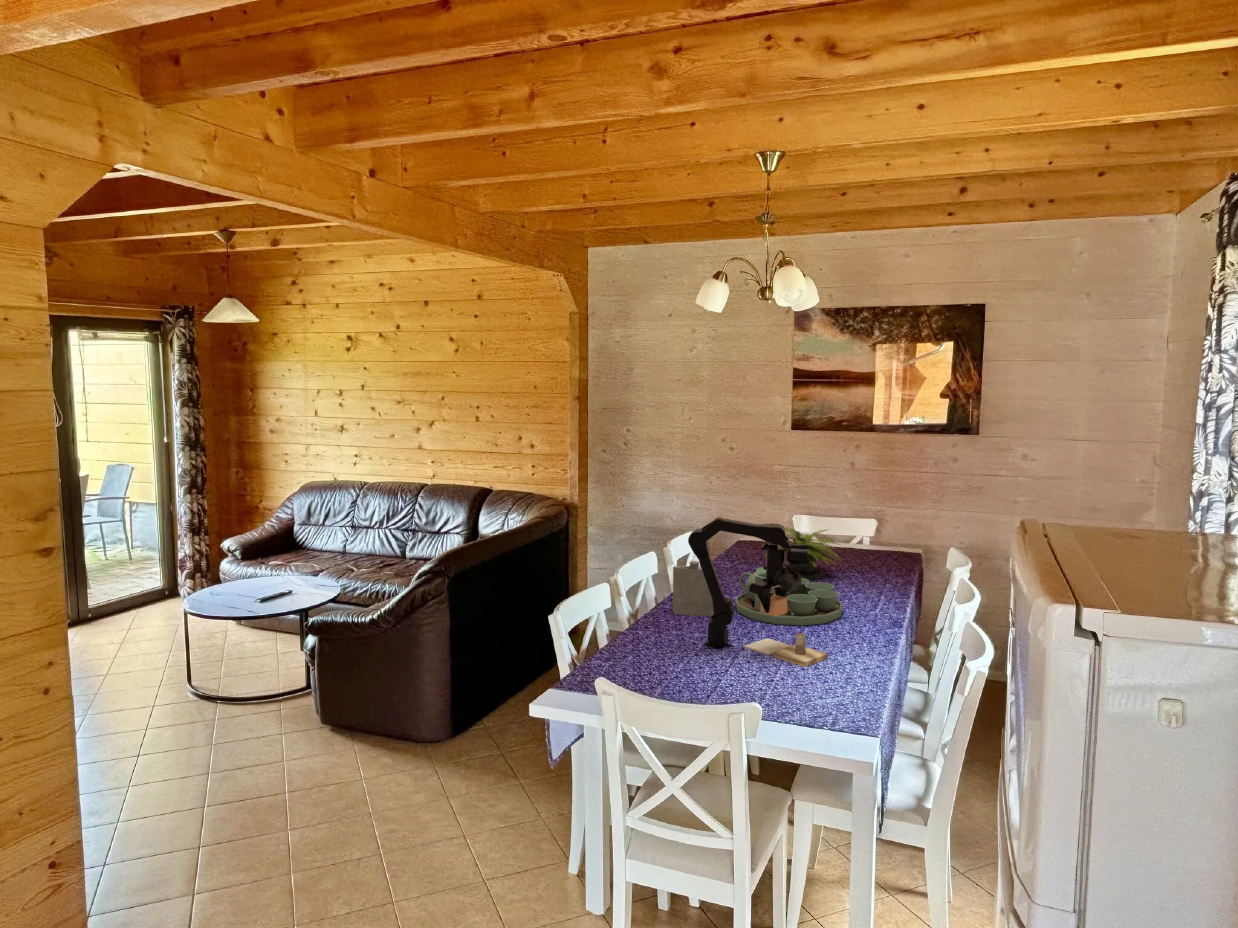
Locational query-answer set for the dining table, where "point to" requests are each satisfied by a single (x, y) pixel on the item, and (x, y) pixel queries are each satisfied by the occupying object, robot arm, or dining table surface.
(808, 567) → the fern plant
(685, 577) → the hip flask
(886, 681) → the dining table surface
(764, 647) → the pad
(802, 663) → the post stand
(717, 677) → the dining table surface
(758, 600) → the tea set
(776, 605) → the orange cube
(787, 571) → the robot arm
